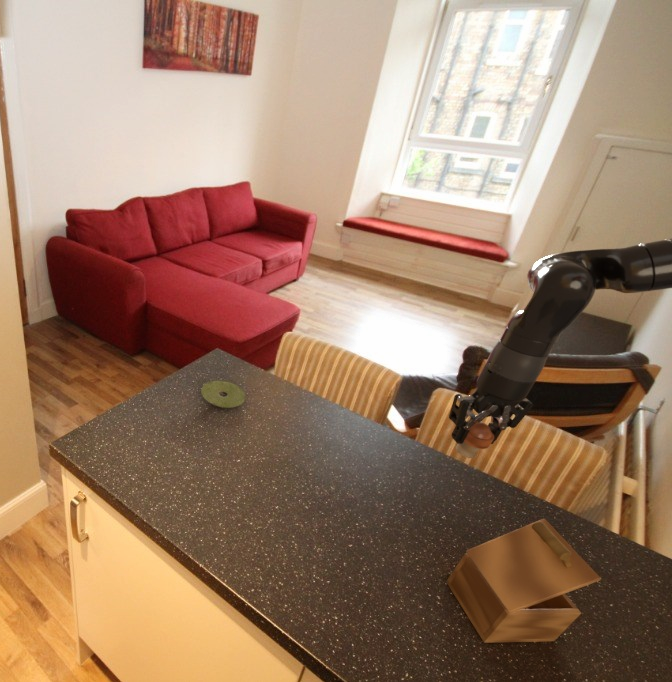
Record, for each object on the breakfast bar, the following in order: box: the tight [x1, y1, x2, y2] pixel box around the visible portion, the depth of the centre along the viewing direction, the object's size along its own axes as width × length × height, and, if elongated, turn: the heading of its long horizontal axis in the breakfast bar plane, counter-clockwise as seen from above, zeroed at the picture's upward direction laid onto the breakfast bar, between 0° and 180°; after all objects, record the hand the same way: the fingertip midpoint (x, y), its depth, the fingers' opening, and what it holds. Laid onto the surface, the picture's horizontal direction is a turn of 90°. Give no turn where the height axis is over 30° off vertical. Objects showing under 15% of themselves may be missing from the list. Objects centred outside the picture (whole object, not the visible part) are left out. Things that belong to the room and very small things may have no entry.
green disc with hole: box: [200, 380, 246, 409], centre depth 113 cm, size 11×11×2 cm
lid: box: [465, 518, 602, 613], centre depth 64 cm, size 12×9×5 cm
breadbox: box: [445, 553, 582, 644], centre depth 69 cm, size 11×9×8 cm
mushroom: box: [455, 420, 494, 459], centre depth 86 cm, size 6×6×7 cm
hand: (471, 440), depth 87 cm, fingers closed on mushroom, 5 cm apart
